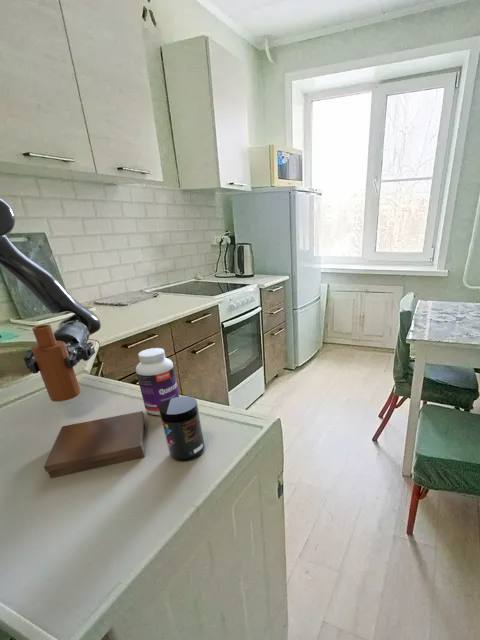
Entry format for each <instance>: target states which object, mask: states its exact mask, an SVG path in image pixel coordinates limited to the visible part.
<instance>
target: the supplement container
mask: <svg viewBox="0 0 480 640" xmlns="http://www.w3.org/2000/svg"><path fill="white" fill-rule="evenodd" d="M159 411H160V415H159V416H160V419H161V423H162V427H163V431H164V435H165V441H166V445H167V448H168V453H169V456H170V457H171V458H172V459H173V460H175V461H178V462H188V461H192V460H194V459H196V458H198V457H200V456H201V455H202V454H203V453H204V450H205V439H204V434H203V429H202V424H201V418H200V413H199V406H198V400H197V399H196V398H195V397H193V396H187V395H185V396H183V395H182V396H179V397H175V398H171V399H169V400H167V401H165V402H163V403H162V404H161V405H160V406H159Z"/></svg>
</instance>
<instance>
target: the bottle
mask: <svg viewBox="0 0 480 640" xmlns="http://www.w3.org/2000/svg"><path fill="white" fill-rule="evenodd" d="M31 329H32V333H33V336H34V337H35V340H36V344H35V345H33V346H31V348H30V350H32V352H33V355H34V358H35V360H36V363H37V365H38V368H39V373H40V377H41V378H42V381H43V384H44V387H45V389H46V392H47V394H48V397H49V399H50V401H51V402H55V403H58V402H60V403H61V402H65V401H69V400H72V399H75V398H76V397H78V396H80V394H81V393H82V392H81V391H82V390H81V387H80V384H79V381H78V378H77V375H76V372H75V369H74V367H73V368H68V365H67V362H66V358H67V357H68V355H69V354H68V351H67V348H66V345H65V342H64V341H56V339H55V336H54V331H53V328H52V325H51V324H41V325H36V326H33V327H32V328H31Z"/></svg>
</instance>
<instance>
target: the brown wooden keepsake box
mask: <svg viewBox="0 0 480 640" xmlns="http://www.w3.org/2000/svg"><path fill="white" fill-rule="evenodd" d="M146 428H147V422H146V419H145V413H144V410H141V411H140V410H139V411H136V412H129V413H125V414H124V413H123V414H120V415H115V416H109V417H103V418H98V419H93V420H89V421H83V422H78V423H72V424H68V425H62V426H61V427H60V429H59V432H58V435H57V436H56V439H55V441H54V443H53V445H52V448H51V450H50V452H49V454H48V456H47V459H46V461H45V462H44V465H43V469H44V470H45V472H46V473H48V476H49V478H50V479H53V478H57V477H62V476H66V475H70V474H74V473H75V474H76V473H79V472H84V471H89V470H92V469H93V470H94V469H97V468H102V467H105V466H110V465H115V464H119V463H124V462H129V461H134V460H138V459H143V458H145V457H146V455H145V454H146V453H145V451H146V450H145V446H144V429H146Z"/></svg>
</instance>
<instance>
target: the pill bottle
mask: <svg viewBox="0 0 480 640" xmlns="http://www.w3.org/2000/svg"><path fill="white" fill-rule="evenodd" d="M137 356H138V360H139V361H140V362H138V364H137V365H136V367H135V373H136V377H137V381H138V385H139V388H140V393H141V395H142V396H141V397H142V401H143V406H144V409H145V411H146V413H148V414H149V415H152V416H160V411H159V406H160V405H161V404H162V403H163V402H165V401H167V400H169V399H171V398H175V397H180V393H179V388H178V382H177V377H176V373H175V372H176V371H175V368H174V363H173V361H172V360H171V359H170V358H167V357H166V353H165V349H164V348H161V347H151V348H146V349H144V350H141V351H139V353H138V354H137Z"/></svg>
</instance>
